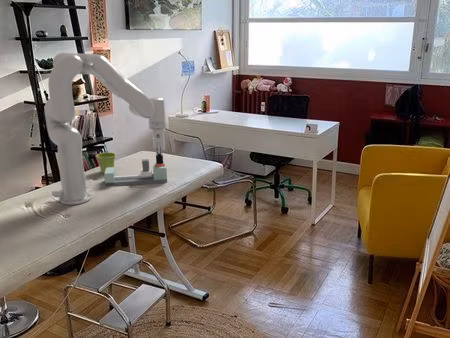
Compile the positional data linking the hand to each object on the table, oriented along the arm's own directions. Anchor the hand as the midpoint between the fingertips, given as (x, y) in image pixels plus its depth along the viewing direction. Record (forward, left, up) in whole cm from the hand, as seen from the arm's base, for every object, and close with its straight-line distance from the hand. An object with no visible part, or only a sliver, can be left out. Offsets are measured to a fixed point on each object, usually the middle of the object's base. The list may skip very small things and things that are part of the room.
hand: (159, 163), depth 209 cm
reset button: (0, 0, -3) cm, 3 cm away
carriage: (-7, 0, -5) cm, 8 cm away
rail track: (-11, 0, -8) cm, 14 cm away
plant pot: (-26, +17, -8) cm, 32 cm away
